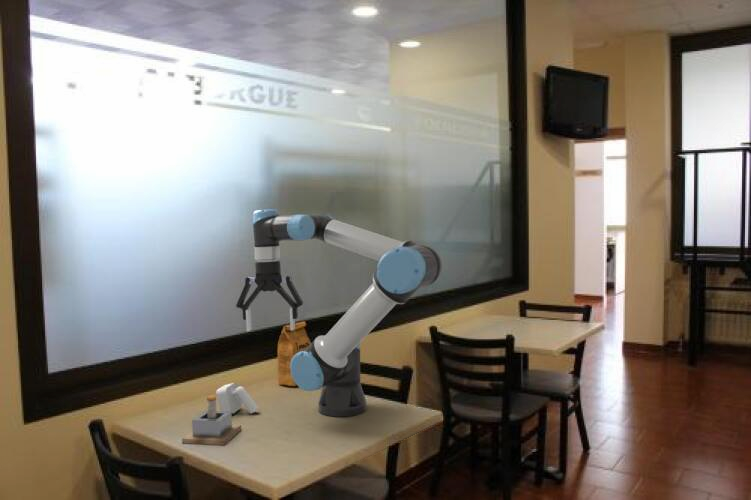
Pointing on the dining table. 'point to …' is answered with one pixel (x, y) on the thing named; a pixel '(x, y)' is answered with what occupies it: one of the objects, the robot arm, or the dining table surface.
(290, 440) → the dining table surface
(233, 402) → the wall hook
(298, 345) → the coffee package
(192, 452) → the dining table surface
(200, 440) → the keeper
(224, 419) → the link
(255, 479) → the dining table surface
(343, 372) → the robot arm
